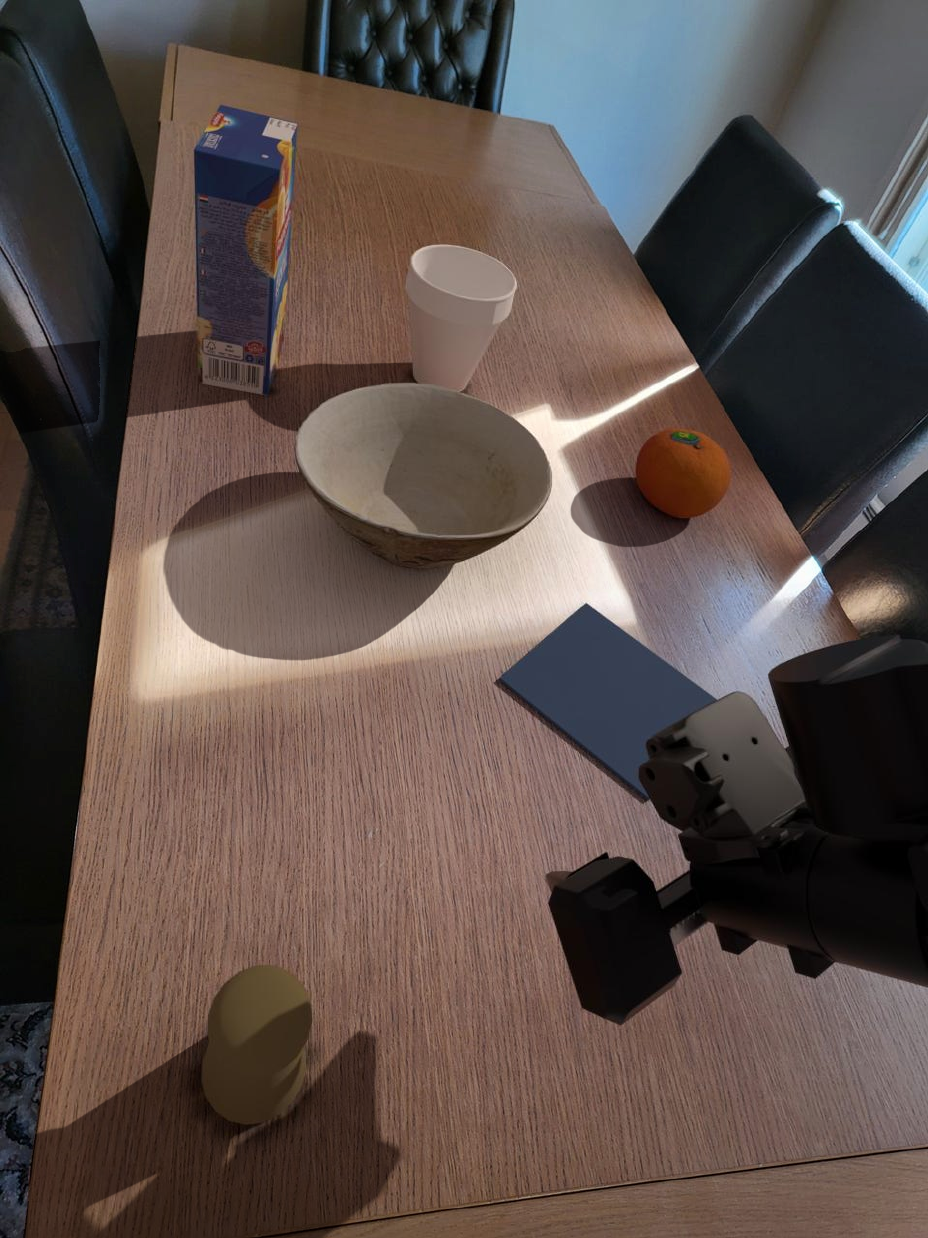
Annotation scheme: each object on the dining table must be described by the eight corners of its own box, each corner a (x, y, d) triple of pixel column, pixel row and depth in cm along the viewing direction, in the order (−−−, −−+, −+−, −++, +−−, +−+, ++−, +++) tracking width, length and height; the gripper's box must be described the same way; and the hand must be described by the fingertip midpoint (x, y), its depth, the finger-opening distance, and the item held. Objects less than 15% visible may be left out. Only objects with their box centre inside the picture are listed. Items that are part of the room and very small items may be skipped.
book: (723, 707, 76) (724, 705, 76) (647, 801, 67) (649, 799, 67) (584, 605, 81) (586, 602, 80) (498, 680, 72) (499, 677, 72)
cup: (448, 342, 107) (472, 238, 97) (508, 395, 102) (539, 291, 92) (370, 359, 101) (387, 249, 91) (430, 417, 96) (454, 307, 86)
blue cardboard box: (267, 396, 91) (279, 169, 74) (198, 383, 90) (193, 149, 73) (283, 339, 99) (297, 122, 82) (220, 326, 98) (220, 103, 81)
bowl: (263, 459, 84) (267, 375, 77) (473, 445, 94) (494, 369, 87) (325, 635, 71) (338, 552, 64) (562, 598, 81) (597, 522, 73)
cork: (255, 990, 52) (261, 923, 44) (327, 1057, 50) (348, 1001, 42) (178, 1074, 48) (170, 1018, 40) (254, 1150, 46) (261, 1107, 38)
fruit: (728, 521, 95) (762, 466, 89) (663, 540, 90) (694, 484, 84) (670, 463, 100) (699, 408, 94) (606, 478, 95) (631, 421, 89)
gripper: (918, 641, 39) (679, 663, 52) (635, 801, 29) (433, 777, 43) (983, 863, 39) (730, 828, 53) (726, 1089, 30) (499, 976, 44)
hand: (610, 846), depth 48 cm, fingers open, 9 cm apart
